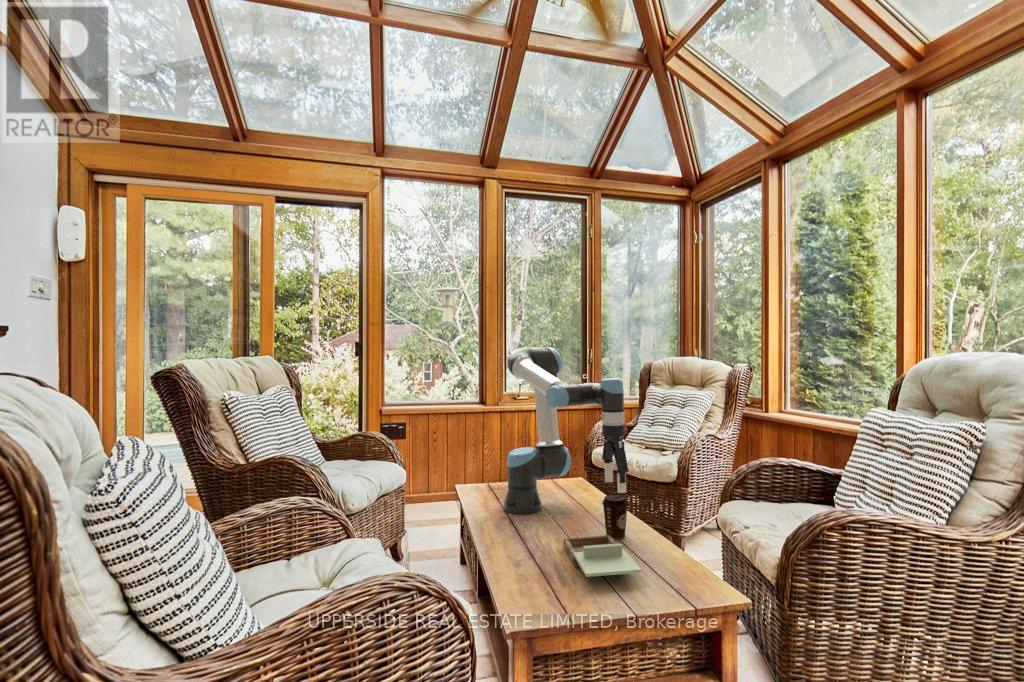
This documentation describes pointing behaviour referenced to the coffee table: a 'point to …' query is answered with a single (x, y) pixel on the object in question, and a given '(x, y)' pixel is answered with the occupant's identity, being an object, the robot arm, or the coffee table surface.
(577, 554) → the lid
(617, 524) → the coffee cup
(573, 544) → the box
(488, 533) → the coffee table surface
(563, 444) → the robot arm
